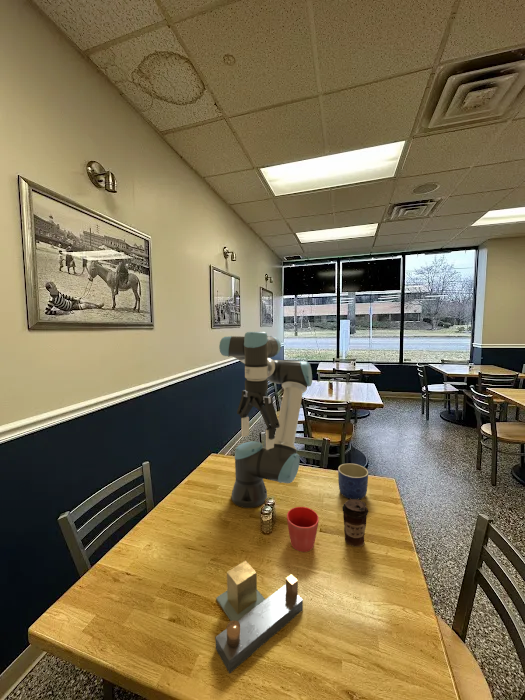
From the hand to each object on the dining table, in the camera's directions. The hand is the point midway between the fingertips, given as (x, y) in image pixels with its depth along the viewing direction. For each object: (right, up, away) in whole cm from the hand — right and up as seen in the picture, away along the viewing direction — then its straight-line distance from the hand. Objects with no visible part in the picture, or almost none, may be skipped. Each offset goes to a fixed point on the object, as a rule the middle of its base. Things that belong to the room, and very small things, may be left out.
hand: (257, 441), depth 97 cm
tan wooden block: (-4, -36, -20) cm, 41 cm away
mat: (-4, -37, -20) cm, 42 cm away
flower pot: (+15, -35, +1) cm, 38 cm away
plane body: (+2, -37, -26) cm, 45 cm away
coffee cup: (+33, -35, +2) cm, 48 cm away
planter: (+41, -32, +29) cm, 60 cm away
